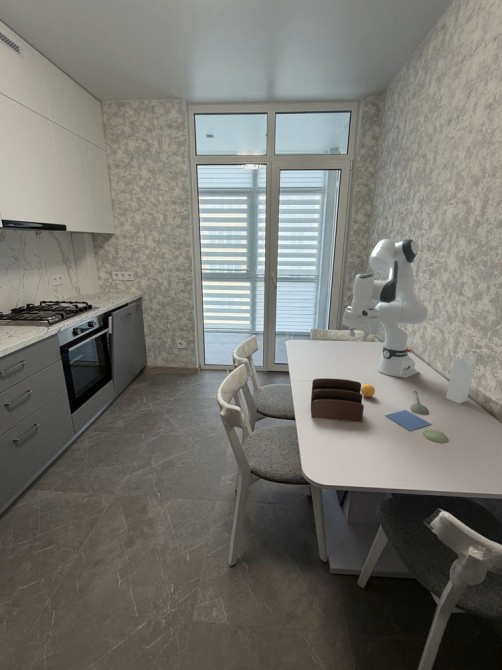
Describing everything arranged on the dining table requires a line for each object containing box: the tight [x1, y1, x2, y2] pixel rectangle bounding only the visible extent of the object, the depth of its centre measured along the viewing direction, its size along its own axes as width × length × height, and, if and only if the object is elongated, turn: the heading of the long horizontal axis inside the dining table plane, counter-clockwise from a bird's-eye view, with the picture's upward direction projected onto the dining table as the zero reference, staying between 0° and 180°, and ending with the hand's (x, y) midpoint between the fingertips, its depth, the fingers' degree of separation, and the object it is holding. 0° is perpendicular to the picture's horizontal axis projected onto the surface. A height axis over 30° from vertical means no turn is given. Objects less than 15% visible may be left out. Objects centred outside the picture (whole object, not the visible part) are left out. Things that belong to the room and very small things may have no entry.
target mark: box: [384, 409, 433, 432], centre depth 124 cm, size 12×12×1 cm
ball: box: [360, 383, 376, 398], centre depth 142 cm, size 6×6×6 cm
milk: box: [445, 352, 476, 404], centre depth 138 cm, size 6×6×22 cm
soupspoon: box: [410, 390, 429, 416], centre depth 137 cm, size 22×3×7 cm
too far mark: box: [422, 429, 449, 444], centre depth 113 cm, size 8×8×1 cm
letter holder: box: [310, 377, 365, 423], centre depth 126 cm, size 10×20×14 cm, turn 81°
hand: (357, 338), depth 145 cm, fingers open, 6 cm apart
